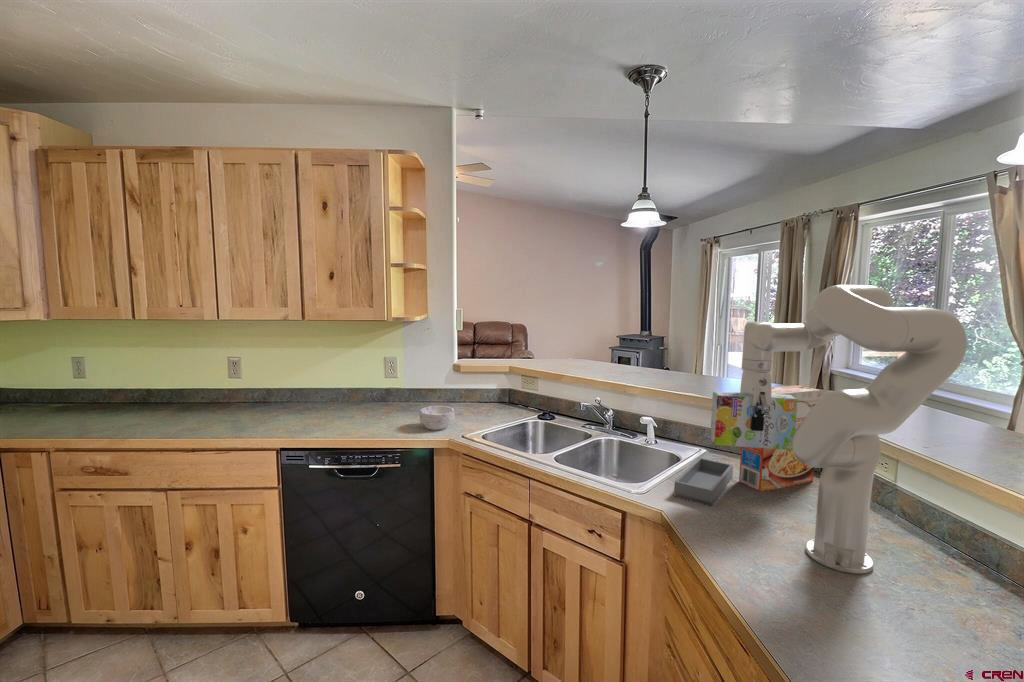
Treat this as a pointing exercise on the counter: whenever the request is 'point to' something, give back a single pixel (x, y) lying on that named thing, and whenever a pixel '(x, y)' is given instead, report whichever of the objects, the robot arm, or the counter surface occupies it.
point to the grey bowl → (436, 417)
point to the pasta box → (779, 451)
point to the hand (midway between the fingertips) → (751, 426)
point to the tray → (703, 481)
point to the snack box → (736, 417)
